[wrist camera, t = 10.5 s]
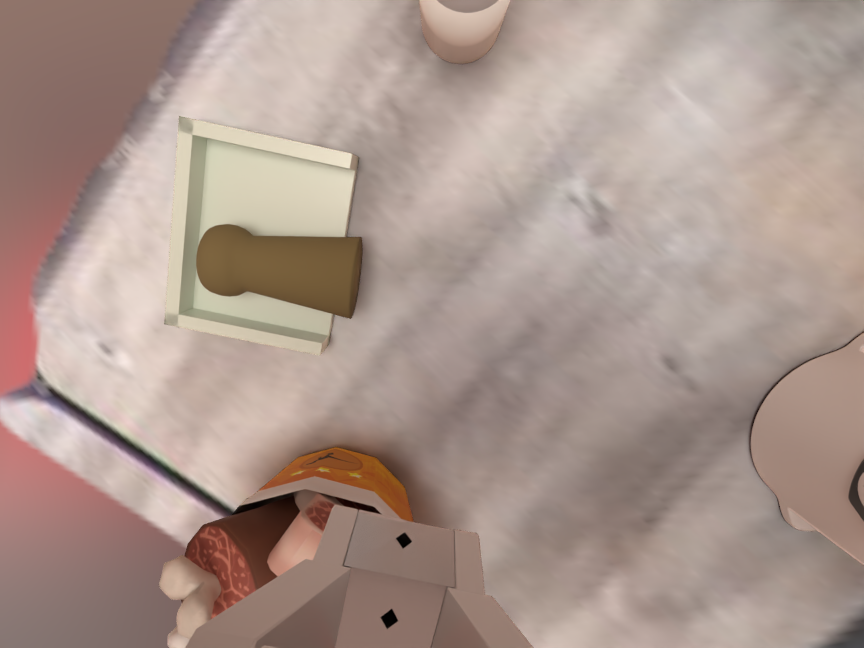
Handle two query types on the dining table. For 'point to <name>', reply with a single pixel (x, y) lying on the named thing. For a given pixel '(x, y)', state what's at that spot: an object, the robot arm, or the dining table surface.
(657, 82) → the dining table surface
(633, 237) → the dining table surface
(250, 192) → the tray
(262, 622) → the robot arm
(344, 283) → the brown chess pawn
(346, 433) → the dining table surface
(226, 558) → the bucket of meat
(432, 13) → the salt shaker
